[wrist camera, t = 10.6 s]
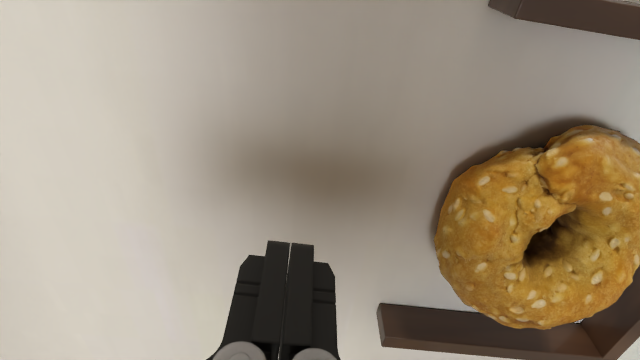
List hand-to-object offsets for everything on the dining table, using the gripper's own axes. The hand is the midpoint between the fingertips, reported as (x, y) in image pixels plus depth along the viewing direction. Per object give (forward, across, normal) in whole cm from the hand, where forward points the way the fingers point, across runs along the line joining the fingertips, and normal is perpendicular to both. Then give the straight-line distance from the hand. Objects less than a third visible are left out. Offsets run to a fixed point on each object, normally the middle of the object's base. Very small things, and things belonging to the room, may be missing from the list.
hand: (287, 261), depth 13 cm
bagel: (+8, -12, +2) cm, 15 cm away
